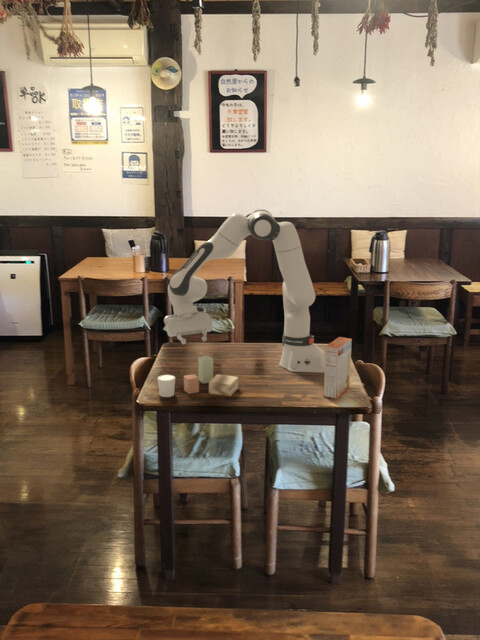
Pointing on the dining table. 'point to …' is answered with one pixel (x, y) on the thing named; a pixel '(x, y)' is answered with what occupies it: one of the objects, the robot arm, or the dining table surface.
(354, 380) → the dining table surface
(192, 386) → the terracotta block
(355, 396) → the dining table surface
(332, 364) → the cracker box
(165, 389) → the shot glass
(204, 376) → the sage block
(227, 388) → the beech base
